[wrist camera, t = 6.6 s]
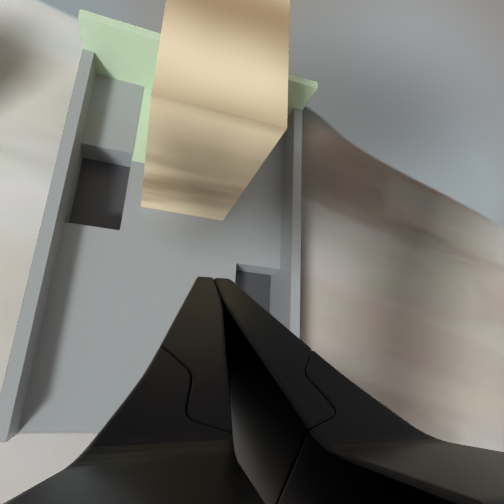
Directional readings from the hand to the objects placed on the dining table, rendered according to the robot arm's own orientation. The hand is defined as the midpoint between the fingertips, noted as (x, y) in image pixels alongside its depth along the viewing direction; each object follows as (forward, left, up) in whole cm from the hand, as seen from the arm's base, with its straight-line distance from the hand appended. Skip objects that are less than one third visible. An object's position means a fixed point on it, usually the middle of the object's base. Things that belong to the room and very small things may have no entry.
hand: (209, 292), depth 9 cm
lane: (+5, 0, -14) cm, 15 cm away
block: (+10, 0, -12) cm, 16 cm away
